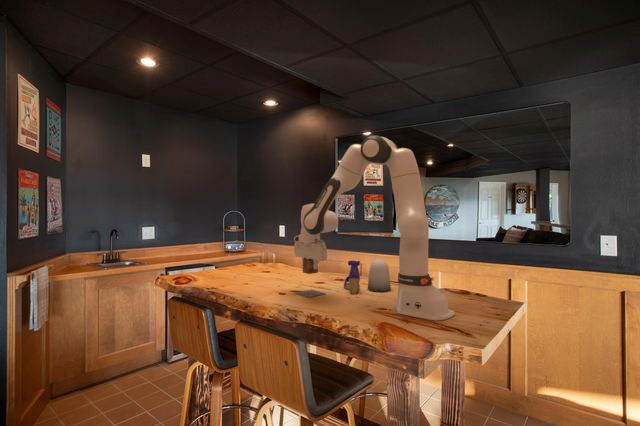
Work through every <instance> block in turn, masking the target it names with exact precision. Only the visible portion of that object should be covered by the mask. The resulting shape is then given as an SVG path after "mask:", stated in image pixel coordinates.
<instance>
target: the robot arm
mask: <svg viewBox="0 0 640 426" xmlns="http://www.w3.org/2000/svg"><path fill="white" fill-rule="evenodd" d="M370 164H375V165H378V166H380V165H381V166H387V168H388V169H389V175H390V181H391V186H392V191H393V198H394V207H395V215H396V222H397V224H396V225H397V229H398V232H399V234H400V238H399V239H400V240H399V254H398V255H399V256H398V258H399V262H398V263H399V265H398V266H399V267H398V268H399V269H398V275H397V282H398V291H397V292H398V293H397V299H396V303H395V306H394V309H395V310H396V312H397V314H399V315H404V316H409V317H415V318H419V319H424V320H429V321H435V322H436V321H444V320H447V319H451V318H453V317H454V316H455V311H454V310H453V309H452V310H451V309H449V303H448V299H447V297H446V296H445V295H444V294H443V293H442V292H441V291H440V290H439V289H438V288H437V287H435V285H433V282H432V281H435V276H434V277H433V276H432V277H431V275H430V274H429V223H430V222H429V219H428V217H427V212H426V211H427V210H426V205H425V199H424V192H423V187H422V186H423V185H422V182H421V175H420V170H419V166H418V163H417V159H416V157H415V154H414V152H413V150H411V149H409V148H406V147H401V148H399V147H398V145H397V144H396V143H395V142H394V141H393V140H390V139H388V138H387V137H384V136H380V135H376V134H375V135H369V136H367V137H366V138H365V139H364V140H362V142H361V143H360V144H359V143H354V144H351V145H350V146H349V148H348V149H347V150H346V151H345V153H344V155H343V156H342V159H341V160H340V163H339V165H338V166H337V168H336V170H335V171H334V173H333V175H332V177H331V178H330V179H329V180H328V181H327V183H326V184H325V186H324V187H323V189H322V190H321V192H320V194H319V196H318V197H317V199H316V200H315V201H314V202H312V203H307V204H304V205H302V208H301V211H300V225H301V229H300V234H298V235H296V236H294V238H293V241H294V245H293V250H294V251H293V252H294V253H293V254H294V256H295V257H299V258H301V261H302V262H303V260H304V259H314V265H312V269H317V265H318V266H319V264H320V261H327V259H328V249H327V244H326V242H325V240H324V239H321V234H323V233H324V234H325V233H331V232H333V231H335V230H336V229H337V228H338V226H339V217H338V215H337V214H336V212H334V211H331V210H329V209H330V208H331V206H332V205H333V202H334V200H336V199H337V197H338V196H341V195H342V194H344V193H346V192H348V191H352V190H353V189H355V188H356V187H357V186H358V185H359V183H360V181H361V180H362V177H363V176H364V173H365V172H366V169H367V168H368V167H369V165H370Z"/></svg>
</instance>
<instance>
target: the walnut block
mask: <svg viewBox="0 0 640 426" xmlns="http://www.w3.org/2000/svg"><path fill="white" fill-rule="evenodd" d="M312 265H314V259H308V258H307V259H304V260H303V261H302V273H303V274H308V275H313V274H318V273H319V271H318V270H319V264H318V265H317V269H312Z"/></svg>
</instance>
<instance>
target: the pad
mask: <svg viewBox="0 0 640 426" xmlns="http://www.w3.org/2000/svg"><path fill="white" fill-rule="evenodd" d="M295 295H298V296H302V297H305V298H308V299H311V298H314V297H321V296H325V295H327V293H326V292H323V291H320V290H315V289H308V290H302V291H297V292H295Z"/></svg>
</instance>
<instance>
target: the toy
mask: <svg viewBox="0 0 640 426" xmlns="http://www.w3.org/2000/svg"><path fill="white" fill-rule="evenodd" d="M391 286H392V285H391V277H390V268H389V264H388V262H387V261H386V260H384V259H381V258H377V259H374V260H373V261H371V264H370V265H369V271H368V280H367V290H368V291H370V292H374V291H375V292H376V293H383V292H385V293H388V292H390V291H392V289H391V288H392V287H391Z"/></svg>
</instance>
